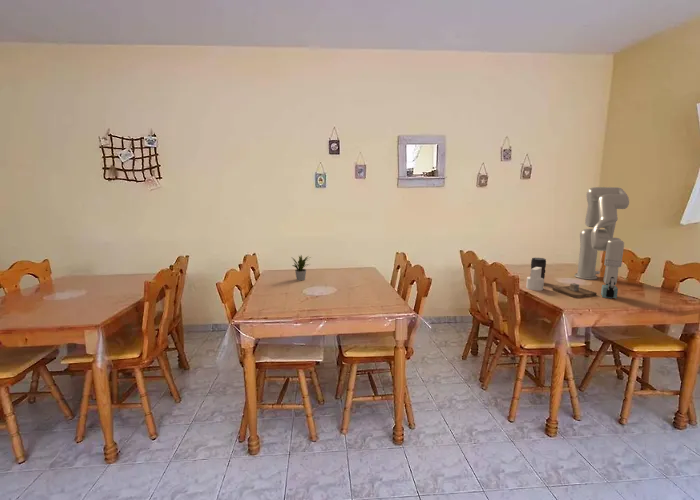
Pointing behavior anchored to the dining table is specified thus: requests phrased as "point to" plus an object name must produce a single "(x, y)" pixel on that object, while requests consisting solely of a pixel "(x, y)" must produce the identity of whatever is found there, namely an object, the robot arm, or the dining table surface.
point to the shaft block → (574, 291)
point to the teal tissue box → (604, 291)
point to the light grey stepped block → (535, 279)
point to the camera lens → (539, 265)
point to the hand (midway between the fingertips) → (608, 294)
